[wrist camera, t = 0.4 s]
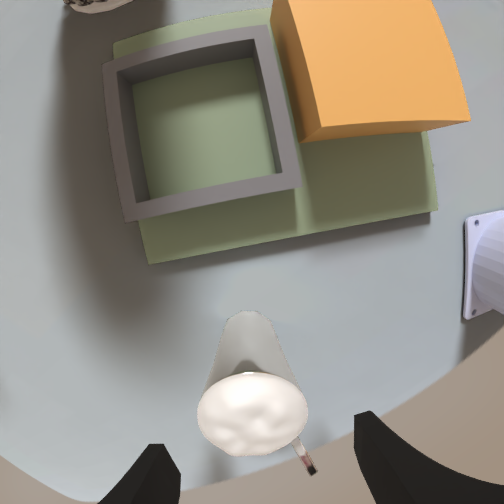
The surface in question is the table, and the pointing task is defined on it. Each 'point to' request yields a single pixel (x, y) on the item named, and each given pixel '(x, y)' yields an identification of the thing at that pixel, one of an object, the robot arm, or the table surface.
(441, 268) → the table surface
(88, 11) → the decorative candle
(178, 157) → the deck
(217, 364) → the milkshake
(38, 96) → the table surface
